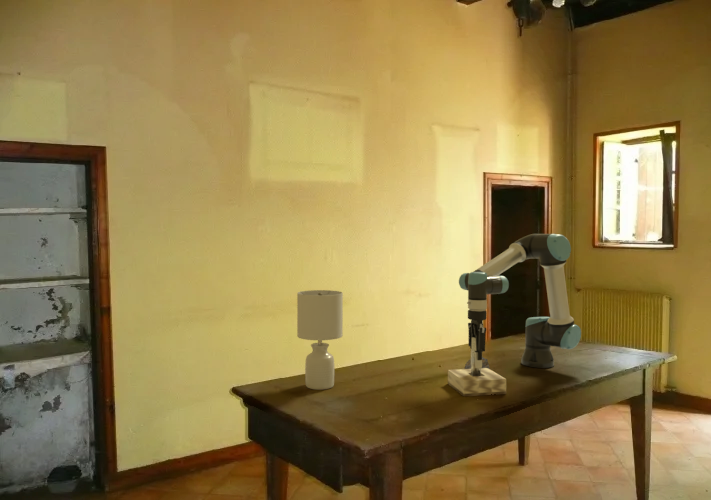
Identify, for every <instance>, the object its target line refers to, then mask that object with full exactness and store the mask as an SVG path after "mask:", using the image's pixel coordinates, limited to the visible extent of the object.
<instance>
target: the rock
mask: <svg viewBox="0 0 711 500" xmlns="http://www.w3.org/2000/svg"><path fill="white" fill-rule="evenodd" d="M482 368H488V369H490V364H489V361H488V359H487V358H484V356H482ZM464 369H471V358H470V359H468V360H467V361H466V364H465V366H464ZM490 370H491V369H490Z"/></svg>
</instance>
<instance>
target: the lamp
mask: <svg viewBox="0 0 711 500" xmlns="http://www.w3.org/2000/svg"><path fill="white" fill-rule="evenodd" d="M343 293H344V292H342V291H339V290H330V289H329V290H328V289H323V290H322V289H316V290H315V289H312V290H303V291H298V292H297V295H296V296H297V297H296V298H297V299H296V300H297V303H296V304H297V305H296V306H297V307H296V308H297V314H296V315H297V317H296V319H297V324H296V325H297V326H296V327H297V328H296V329H297V333H296V335H297V336H296V337H297V338H298V339H301V340H307V341H317V342H313V343H311V344H310V346H311V348H312V351H311V352H310V353H308V354H307V355H306V357H305V365H304V368H305V369H304V371H305V378H304V379H305V386H306V388H308V389H309V390H315V391H320V390H321V391H322V390H329V389H332V388H333V387H334V386H335V358H334V355H333V354H331V353H330V352H329V351H328V347H329V346H330V345H329V343H327V342H323V341H331V340H332V341H333V340H337V339H340V338H342V337H343V307H344V306H343V299H344V297H343V296H344V295H343Z"/></svg>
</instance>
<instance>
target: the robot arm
mask: <svg viewBox="0 0 711 500" xmlns="http://www.w3.org/2000/svg"><path fill="white" fill-rule="evenodd" d="M571 251H572V246H571V244H570V241H569V239H568V238H567V237H566V236H565V235H563V234H557V233H532V234H528V235H526V236H523V237H521V238H519V239H518V240H515V241H514V242H513V243H511V244H510V245H509V247H508V248H507V249H505V250H504V251H503V252H502V253H500V254H498V255H497V256H495V257H493V258H492V259H490V260H489V261H488V262H486V263H484V264H483V265H481V266H480V267H478V268H477V269H475V270H473V271H471V272H464V273H462V274H461V275H460V276H459V279H458V285H459V287H460V288H461V289H462V290H463V291H467V302H466V304H467V308H468V310H467V319H468V320H470V322H468V323H467V327H468V347H469V348H470V350H471V349H472V337H476V351H475V368H482V357H483V352H486V335H487V334H486V333H487V327H484V322H483V321H486V320H487V312H488V311H487V308H488V303H487V302H488V295H497V294H498V295H501V294H504V293H506V292H507V291H508V290H509V286H510V283H509V280H508V278H507V277H506V276H504V275H501V274H502V273H504V272H506V271H507V270H509V269H510V268H511V267H513V266H515V265H516V264H518V263H523V262H525V261H526V260H529V259H531V260H532V259H536V260H538V261H539V266H541V267H542V268H543V272H544V278H545V279H544V280H545V287H546V293H547V294H546V295H547V302H548V311H549V316H533V317H532V316H531V317H528V318H527V319H526V320H525V330H524V331H525V343H524V344H525V346H524V351H523V354H522V355H521V361H520V363H521V365H523V366H525V367H530V368H538V369H539V368H540V369H545V368H546V369H548V368H553V367H554V365H555V360H554V357H553V353H552V350H551V347H555V348H560V349H562V350H573V349H575V348H576V347H577V346H578V345H579V343H580V341H581V337H582V329H581V327H580V326H579V325H577V324H575V319H574V317H572V316H571V314H570V313H571V312H570V306H569V297H568V293H567V281H566V276H565V264H567V260H568V259H569V258H570V256H571Z"/></svg>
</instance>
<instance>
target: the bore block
mask: <svg viewBox="0 0 711 500" xmlns="http://www.w3.org/2000/svg"><path fill="white" fill-rule="evenodd" d="M447 385H448V386H450V387H451V388H452V389H453V390H455V391H456V392H457V393H459V394H460V395H461V396H462V397H473V396H474V397H475V396H492V395H494V394H496V395H506V394H507V378H505V377H503V376H502V375H500V374H499V373H497V372H495V371H494V370H492V369H488V368H481V376H471V369H465V368H462V369H461V368H460V369H457V368H456V369H447ZM491 394H492V395H491Z"/></svg>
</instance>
